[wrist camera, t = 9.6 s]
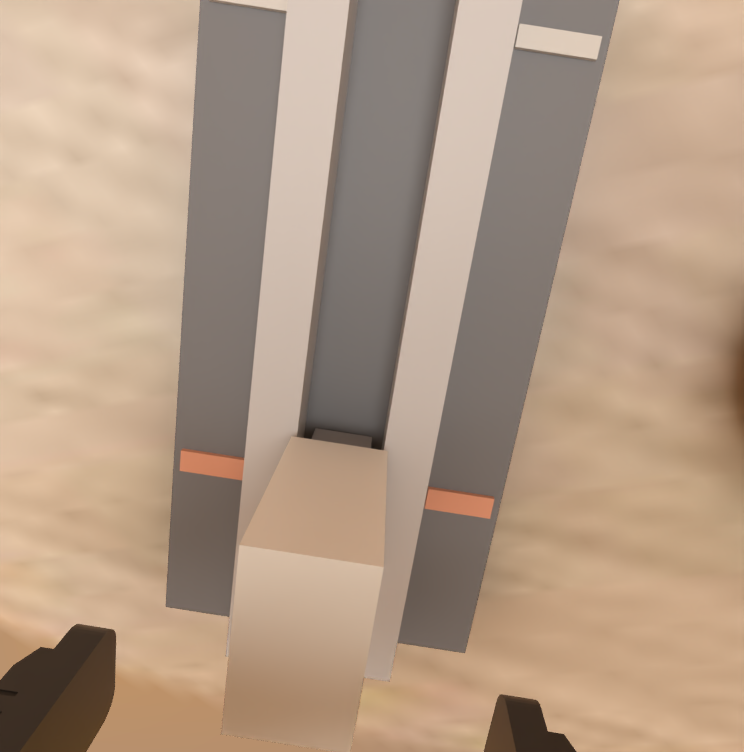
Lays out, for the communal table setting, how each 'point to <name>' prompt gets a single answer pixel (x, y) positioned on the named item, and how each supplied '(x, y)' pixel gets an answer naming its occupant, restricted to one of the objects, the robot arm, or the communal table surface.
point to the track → (373, 271)
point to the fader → (308, 595)
